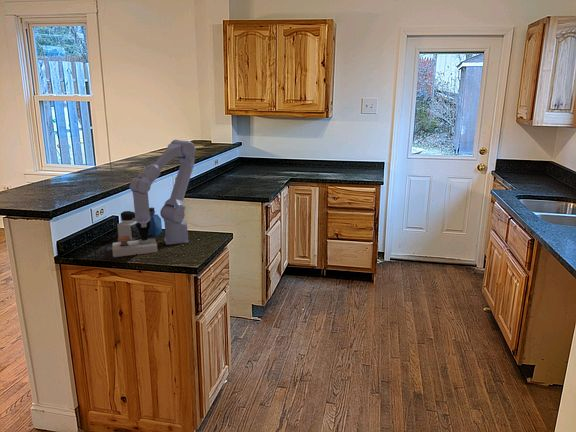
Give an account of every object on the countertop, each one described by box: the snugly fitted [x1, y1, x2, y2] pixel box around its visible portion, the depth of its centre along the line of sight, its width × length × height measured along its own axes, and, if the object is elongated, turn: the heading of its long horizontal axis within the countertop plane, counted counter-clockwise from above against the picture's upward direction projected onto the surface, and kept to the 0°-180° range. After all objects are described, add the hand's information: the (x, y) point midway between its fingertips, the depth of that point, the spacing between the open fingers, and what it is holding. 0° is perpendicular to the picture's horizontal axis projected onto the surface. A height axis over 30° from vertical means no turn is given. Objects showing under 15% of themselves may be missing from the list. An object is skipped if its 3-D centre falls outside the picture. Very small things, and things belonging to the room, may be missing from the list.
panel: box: [111, 237, 158, 258], centre depth 188 cm, size 17×10×3 cm, turn 110°
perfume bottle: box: [148, 207, 163, 237], centre depth 210 cm, size 6×6×12 cm
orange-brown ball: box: [117, 236, 131, 247], centre depth 186 cm, size 4×4×4 cm
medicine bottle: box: [116, 210, 141, 241], centre depth 204 cm, size 7×7×12 cm
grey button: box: [138, 237, 151, 244], centre depth 189 cm, size 4×4×4 cm
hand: (144, 239), depth 188 cm, fingers closed, pressing on grey button
